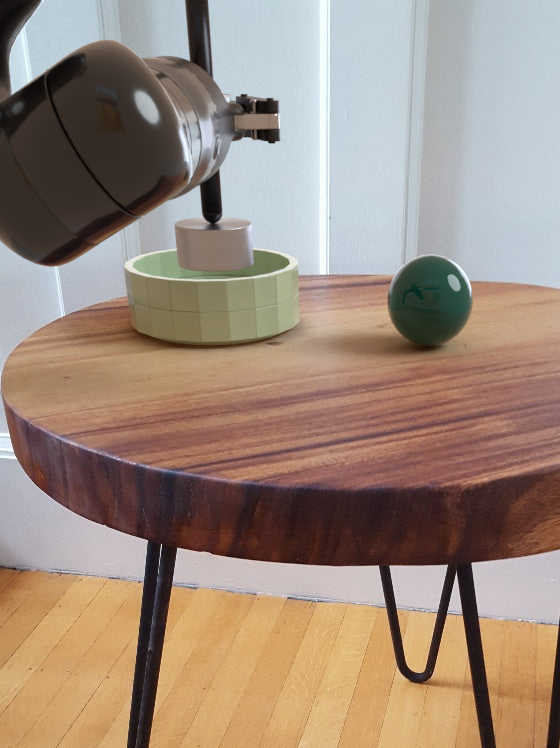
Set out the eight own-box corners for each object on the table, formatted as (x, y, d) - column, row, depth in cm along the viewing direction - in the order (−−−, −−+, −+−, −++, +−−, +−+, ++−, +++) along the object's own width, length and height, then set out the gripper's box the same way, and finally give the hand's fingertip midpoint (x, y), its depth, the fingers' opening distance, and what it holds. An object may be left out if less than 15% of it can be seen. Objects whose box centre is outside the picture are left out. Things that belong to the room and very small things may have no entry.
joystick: (176, 272, 74) (146, -44, 63) (179, 256, 79) (152, -38, 68) (254, 271, 74) (237, -41, 64) (252, 256, 79) (237, -36, 68)
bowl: (125, 351, 88) (116, 282, 85) (139, 307, 102) (131, 247, 99) (305, 346, 90) (303, 279, 87) (294, 304, 104) (292, 245, 101)
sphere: (447, 361, 86) (452, 267, 82) (371, 348, 90) (371, 257, 85) (483, 341, 92) (490, 252, 88) (410, 329, 96) (413, 243, 91)
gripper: (267, 59, 57) (299, 53, 71) (38, 55, 57) (117, 50, 71) (272, 198, 61) (302, 166, 75) (59, 194, 61) (130, 163, 76)
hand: (211, 110), depth 73 cm, fingers closed on joystick
